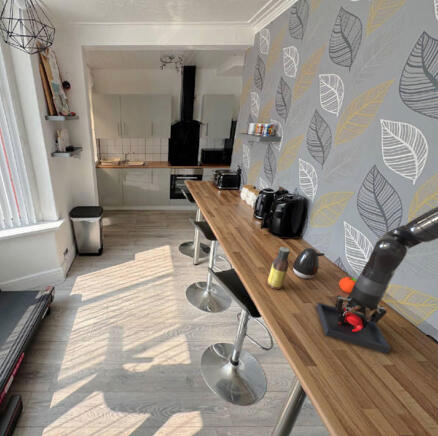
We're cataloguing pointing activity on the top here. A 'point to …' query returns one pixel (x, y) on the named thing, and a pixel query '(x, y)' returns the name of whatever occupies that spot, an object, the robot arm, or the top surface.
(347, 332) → the tray
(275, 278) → the sauce bottle
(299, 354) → the top surface
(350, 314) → the red animal figurine
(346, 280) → the clementine
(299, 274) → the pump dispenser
